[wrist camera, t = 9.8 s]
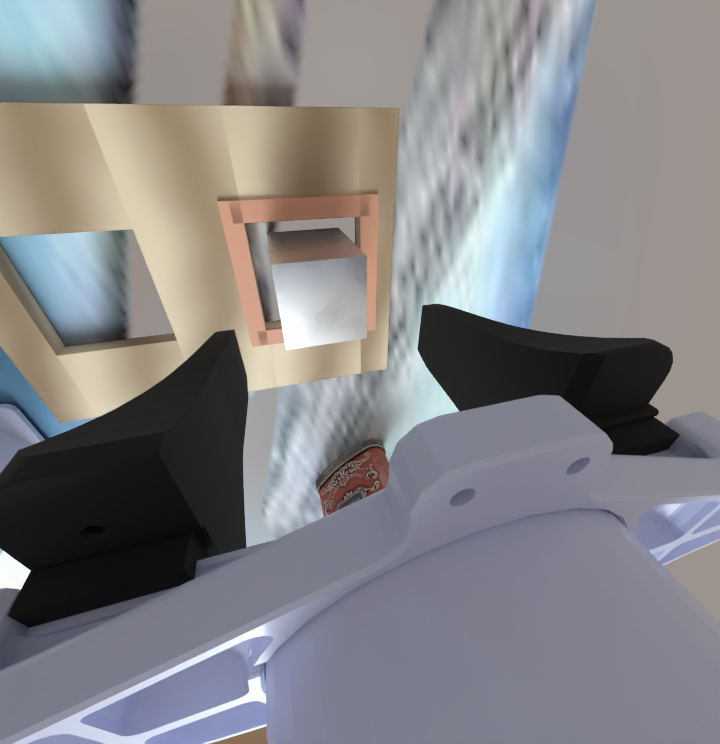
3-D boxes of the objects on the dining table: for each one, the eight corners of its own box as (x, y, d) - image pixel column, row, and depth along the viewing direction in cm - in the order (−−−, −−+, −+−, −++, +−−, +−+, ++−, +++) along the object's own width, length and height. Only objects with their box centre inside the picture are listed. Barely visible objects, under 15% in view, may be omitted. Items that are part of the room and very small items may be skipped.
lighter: (368, 432, 29) (411, 541, 21) (390, 446, 31) (437, 550, 23) (307, 483, 30) (326, 601, 23) (332, 494, 32) (356, 605, 24)
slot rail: (68, 412, 20) (58, 425, 19) (-161, 102, 11) (-199, 98, 10) (382, 361, 24) (387, 370, 23) (392, 110, 16) (400, 107, 15)
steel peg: (278, 301, 20) (286, 350, 15) (266, 232, 17) (270, 264, 13) (341, 294, 20) (367, 338, 16) (338, 227, 18) (367, 256, 13)
